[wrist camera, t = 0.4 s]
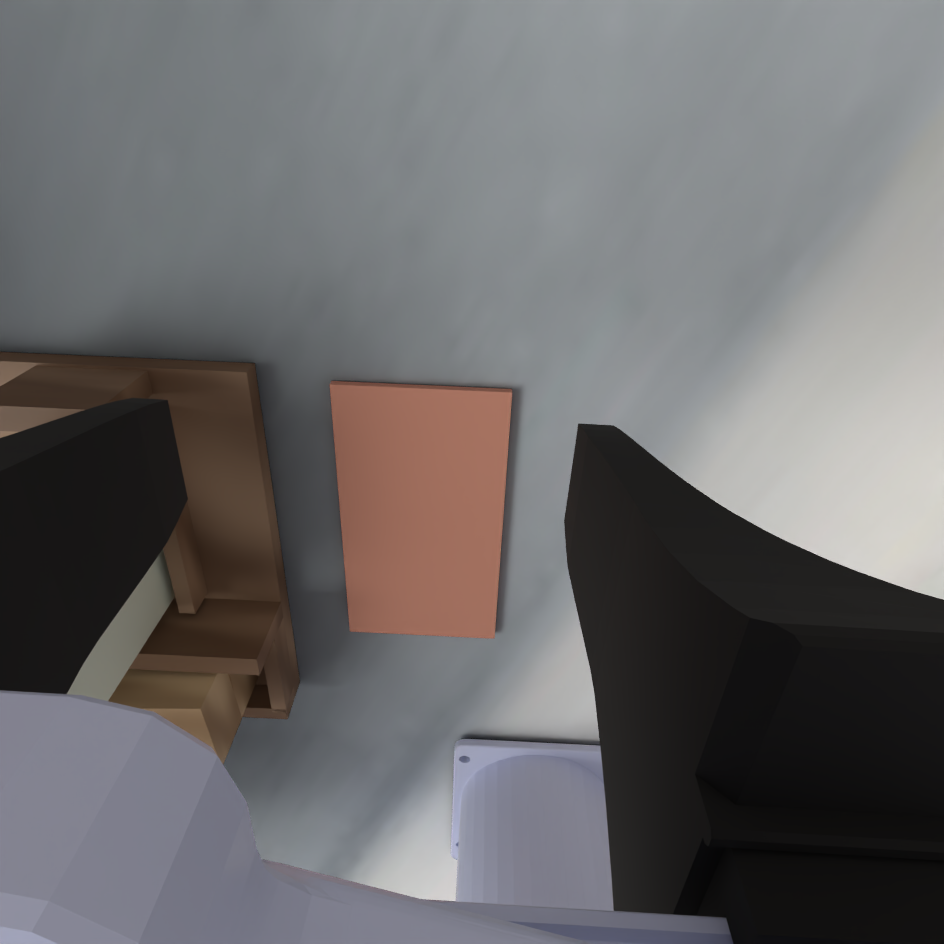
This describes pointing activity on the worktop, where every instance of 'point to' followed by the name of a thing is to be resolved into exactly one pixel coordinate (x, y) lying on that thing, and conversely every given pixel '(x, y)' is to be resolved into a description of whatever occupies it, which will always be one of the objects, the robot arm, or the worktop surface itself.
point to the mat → (421, 505)
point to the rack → (192, 509)
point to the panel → (126, 634)
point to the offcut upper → (186, 702)
